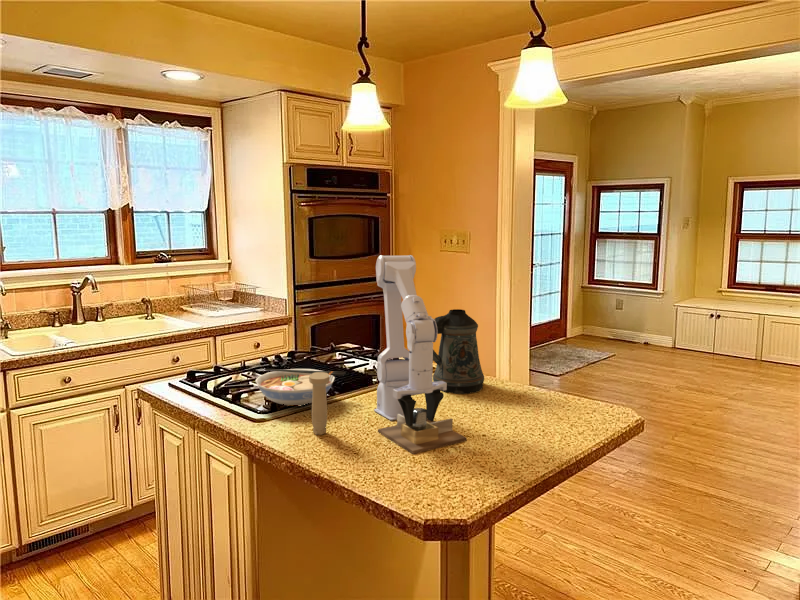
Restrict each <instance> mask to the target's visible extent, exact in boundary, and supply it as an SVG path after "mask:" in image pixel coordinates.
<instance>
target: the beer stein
mask: <svg viewBox="0 0 800 600" xmlns="http://www.w3.org/2000/svg"><path fill="white" fill-rule="evenodd" d="M433 319H434V320H435V321H436V325H437V335H439V334H440V335H441V336H440V341H439V346H438V354H437V352H436V351H435V349H433V362H434V363H435V364H436V366H435V370H434V372H433V373H432V382H438V381H444V382H446V383H447V390H445V391H443V390H440V392H442V393H447V394H455V395H469V394H476V393H478V392H481V390H483V386H484V382H485V374H484V373H483V372H484V371H483V370H482V366H481V362H480V360H481V359H480V355H479V348H478V339H477V331H478V329H479V324H478V323H477V321H476V320H475V319H473V318H472V317H471V316H469V315H468V314H467V313H466V310H465V309H460V308H459V309H458V308H457V309H455V308H454V309H449V310H448V313H447V314H445V315H440V316H437V317H434V318H433Z"/></svg>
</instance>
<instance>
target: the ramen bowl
mask: <svg viewBox="0 0 800 600" xmlns="http://www.w3.org/2000/svg"><path fill="white" fill-rule="evenodd" d="M264 371H268V372H266V373H264V374H261V375H259V376H258V377H257V378H256V379H255V383H256V385H257V386H258V387H257V388H258V389H259V391H260V392H261V393H262V394H263V396H264V397H265V398H266V399H268V400H270V401H271V400H272V401H271V402H274V403H276V404H279V405H283V404H284V405H283V406H285V405H304V404H307V405H308V403H309V404H312V395H313V384H312V383H310V382H309V376H310V374H312V373H315V372H325V373H328V374H329V382H328V383H327V384H326V394H327V393H328V392H329V391H330V389H331V388H332V386H333V383H334V381H335V379H336V377H335V376H338V377H339V376H340V377H343V376H344V375H346V371H330V370H329V371H328V370H326V371H325V370H321V369H320V370H319V369H313V368H290V369H289V368H288V369H279V368H278V369H275V368H265V369H264ZM269 371H270V372H269Z"/></svg>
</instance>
